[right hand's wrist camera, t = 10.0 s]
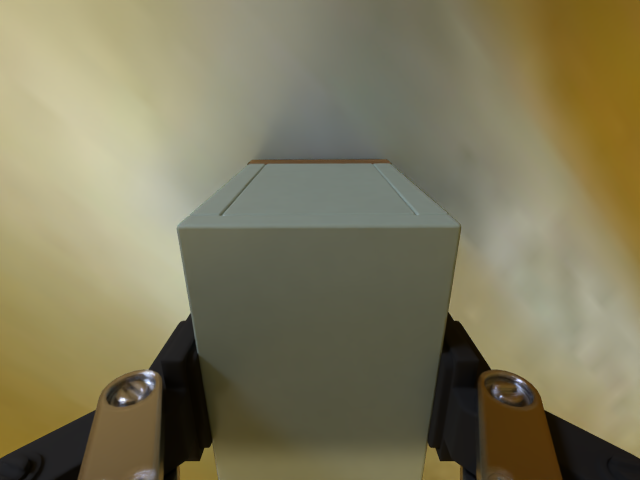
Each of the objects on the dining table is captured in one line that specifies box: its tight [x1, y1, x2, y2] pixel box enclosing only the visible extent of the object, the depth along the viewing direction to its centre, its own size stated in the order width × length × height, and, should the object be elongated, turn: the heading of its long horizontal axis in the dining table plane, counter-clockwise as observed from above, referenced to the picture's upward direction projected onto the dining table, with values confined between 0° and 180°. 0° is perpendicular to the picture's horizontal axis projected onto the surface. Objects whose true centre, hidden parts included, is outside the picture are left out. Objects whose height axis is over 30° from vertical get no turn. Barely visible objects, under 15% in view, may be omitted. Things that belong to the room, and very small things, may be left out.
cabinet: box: [177, 159, 461, 480], centre depth 15 cm, size 21×6×9 cm, turn 0°
